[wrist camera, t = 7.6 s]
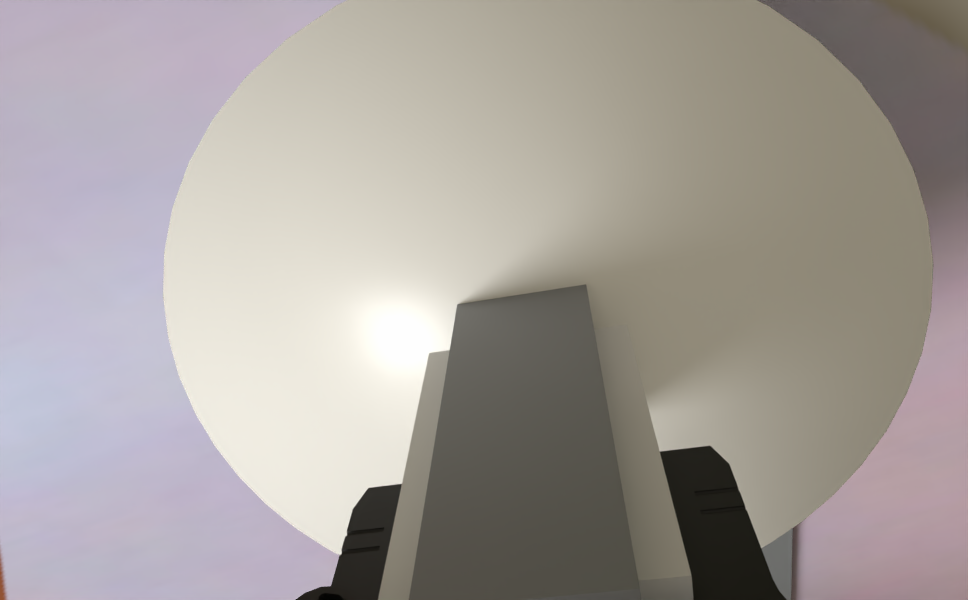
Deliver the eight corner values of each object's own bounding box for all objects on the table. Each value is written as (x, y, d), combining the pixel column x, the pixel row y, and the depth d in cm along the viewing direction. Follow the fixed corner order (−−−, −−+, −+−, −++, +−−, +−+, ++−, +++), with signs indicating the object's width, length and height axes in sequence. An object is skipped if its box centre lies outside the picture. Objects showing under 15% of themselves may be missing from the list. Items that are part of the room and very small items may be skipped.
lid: (858, 509, 22) (1102, 939, 13) (325, 564, 24) (207, 956, 15) (915, -150, 13) (1796, -292, 4) (83, 40, 16) (-523, 214, 7)
